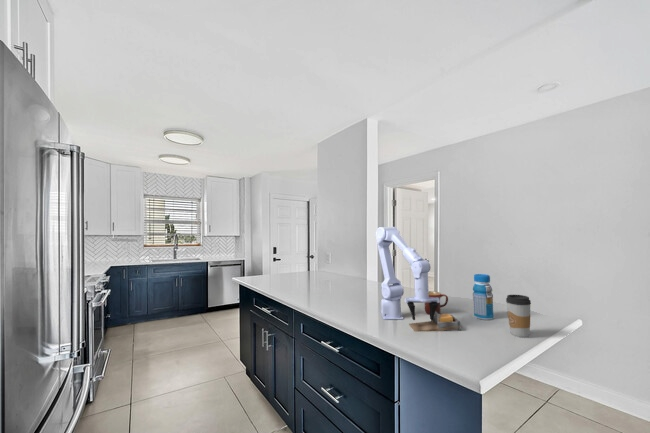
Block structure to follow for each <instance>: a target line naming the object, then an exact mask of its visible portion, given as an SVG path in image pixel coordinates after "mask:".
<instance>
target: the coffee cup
mask: <svg viewBox="0 0 650 433" xmlns="http://www.w3.org/2000/svg"><path fill="white" fill-rule="evenodd" d="M505 299H506V300H505V302H506V307H507V308H506V310H507V318H508V326H509V330H510V334H511V335H512V336H514V337H517V338H524V339H525V338H529V337H530V335H531V304H532V303H531V299H530V297H529V296H527V295H523V294H522V295H521V294H507V296H506V298H505Z"/></svg>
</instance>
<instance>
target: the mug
mask: <svg viewBox="0 0 650 433" xmlns="http://www.w3.org/2000/svg"><path fill="white" fill-rule="evenodd" d="M428 292H429V297H438V298H439V300H440V301H441V298H442V297H445V301H444V303H443V304H441V302H440V303H437V304H438V307H437V308H436V310H435V311H436V312H437V313H438V314H439V315H440V314H441V310H442V309H441V308H444V307H446V306H447V305H448V303H449V297H448V295H446V294H444V293H441V292H438V291H433V290H431V291H429V290H428ZM424 312H425V314H426V315H429V316H430V308H429V303H424Z"/></svg>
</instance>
